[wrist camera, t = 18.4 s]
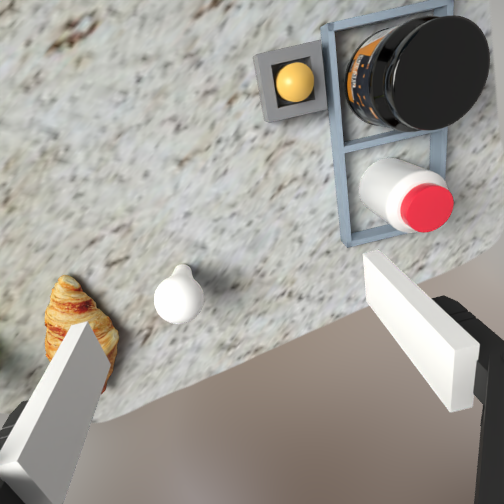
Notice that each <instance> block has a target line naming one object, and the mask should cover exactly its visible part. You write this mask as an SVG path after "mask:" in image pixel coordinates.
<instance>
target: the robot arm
mask: <svg viewBox="0 0 504 504" xmlns="http://www.w3.org/2000/svg"><path fill="white" fill-rule="evenodd" d="M363 262H364V276H365V290H366V301H367V303H368V304H369V305H370V307H371V308H372V309H373V311H374V312H375V313H376V315H377V316H378V317H379V319H380V320H381V321H382V323H383V324H384V325H385V326H386V328H387V329H388V331H389V332H390V333H391V335H392V336H393V337H394V338H395V340H396V341H397V343H398V344H399V345H400V346H401V348H402V349H403V350H404V352H405V353H406V354H407V356H408V357H409V358H410V360H411V361H412V362H413V364H414V365H415V366H416V368H417V369H418V370H419V372H420V373H421V374H422V376H423V377H424V378H425V380H426V381H427V382H428V384H429V385H430V386H431V388H432V389H433V390H434V392H435V393H436V394H437V396H438V397H439V398H440V400H441V401H442V402H443V404H444V405H445V406H446V408H447V409H448V410H449V412H455V411H459V410H463V409H467V408H471V407H473V400H474V395H475V396H476V397H477V398H478V399H479V400H480V402H481V403H482V404H483V410H482V417H481V425H480V426H481V432H480V443H479V454H478V455H479V456H478V466H477V477H476V488H475V499H474V504H504V340H502V339H501V338H500V337H499V336H498V335H496V334H495V333H494V332H493V331H492V330H491V329H489V328H488V327H487V326H486V325H484V324H483V323H482V322H481V321H480V320H479V319H476V317H475V316H474V315H473V314H472V313H471V312H468V310H467V309H466V308H465V307H463V306H462V305H461V304H460V303H459V302H458V301H455V300H453V299H451V298H448V297H446V296H440V297H436V298H432V299H431V298H430V297H429V296H428V295H427V294H426V293H425V292H424V291H422V289H420V288H419V287H418V286H417V285H416V284H415V283H414V282H413V281H412V280H411V279H410V278H409V277H408V276H407V275H405V274H404V273H403V272H402V271H401V270H400V269H399V268H398V267H397V266H396V265H395V264H394V263H393V262H392V261H390V260H389V259H388V258H387V257H386V256H385V255H384V254H383V253H382V252H381V251H380V250H379V249H378V250H374V251H370V252H366V253H363ZM110 366H111V364H110V362H109V360H108V358H107V356H106V355H105V353H104V351H103V349H102V347H101V345H100V343H99V341H98V340H97V338H96V336H95V334H94V332H93V330H92V328H91V326H90V325H89V323H88V321H87V322H83V323H79V324H75V325H71V327H70V329H69V330H68V332H67V334H66V336H65V338H64V339H63V341H62V343H61V345H60V346H59V348H58V350H57V352H56V353H55V355H54V357H53V359H52V360H51V362H50V364H49V366H48V368H47V369H46V371H45V373H44V375H43V376H42V378H41V380H40V382H39V383H38V385H37V387H36V389H35V390H34V392H33V394H32V396H31V397H30V399H29V400H27V401H23V402H21V404H20V405H19V406H18V407H17V408H16V409H15V410H14V411H13V412H12V413H11V414H10V415H9V417H8V419H7V421H6V422H5V424H4V425H3V427H2V428H3V429H2V430H1V431H0V504H63V503H64V500H65V497H66V494H67V491H68V488H69V486H70V483H71V479H72V477H73V473H74V471H75V468H76V465H77V462H78V459H79V456H80V453H81V450H82V448H83V445H84V442H85V439H86V436H87V433H88V430H89V427H90V424H91V421H92V419H93V416H94V413H95V410H96V407H97V404H98V401H99V398H100V395H101V392H102V389H103V386H104V384H105V381H106V378H107V375H108V372H109V369H110Z"/></svg>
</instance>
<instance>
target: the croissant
mask: <svg viewBox="0 0 504 504" xmlns="http://www.w3.org/2000/svg"><path fill="white" fill-rule="evenodd" d="M50 298H51V300H50V304H49V305H48V306H47V309H46V311H45V323H46V324H45V326H46V327H47V330H46V331H47V332H46V338H45V350H46V352H47V353H46V357H47V358H48V359H49V361H50V362H51V360H52V359H53V357H54V355H55V353H56V352H57V350H58V348H59V346H60V345H61V343H62V341H63V339H64V338H65V336H66V334H67V332H68V330H69V329H70V327H71V325H75V324H79V323H83V322H87V321H88V323H89V325H90V326H91V328H92V330H93V332H94V334H95V336H96V338H97V340H98V341H99V343H100V345H101V347H102V349H103V351H104V353H105V355H106V356H107V358H108V360H109V362H110V364H111V366H110V369H109V372H108V375H107V378H106V381H105V384H104V386H103V389H102V392H101V394H102V393H103V392H104V391H105V390H106V386H107V380H108V378H109V377H110V376H111V374H112V372H113V366H114V362H115V357H116V355H117V343H118V341H119V335H118V331H117V330H116V329H115V328H114V326H113V325H112V321H111V320H110V318H109V317H108V316H106V315H105V314H104V313H103V312H102V311H101V310H100V309H97V307H96V303H95V302H94V300H93V299H92V298H90V297H89V296H87V295H86V293H84V292H83V291H82V288H81V285H80V284H79V283H78V282H77V281H76V280H75V279H74V278H73V277H70V276H68V275H63V276H61V277H60V278H59V279H58V282H57V283H55V287H54V288H52V294H51V296H50Z"/></svg>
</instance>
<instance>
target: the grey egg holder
mask: <svg viewBox="0 0 504 504" xmlns="http://www.w3.org/2000/svg"><path fill="white" fill-rule="evenodd" d="M253 60H254V66H255V71H256V77H257V83H258V88H259V94H260V100H261V105H262V111H263V117H264V120H265V121H266V122H268V123H270V122H274V121H278V120H283V119H287V118H291V117H296V116H300V115H304V114H309V113H313V112H317V111H321V110H326V109H327V99H326V88H325V78H324V68H323V58H322V47H321V40H317V41H313V42H308V43H304V44H300V45H295V46H291V47H286V48H282V49H278V50H273V51H269V52H265V53H260V54H257V55H255V56H254V57H253ZM296 62H299V63H303V64H305V65H307V66H308V67H309V68H310V69H311V71H312V73H313V76H314V87H313V90H312V92H311V93H310V95H309V96H308V97H307V98H306V99H304V100H302V101H299V102H292V101H286V100H283V99H281V98H280V97H279V96H278V95H277V94H276V92H275V87H274V78H275V75H276V73H277V72H278V70H279V69H280V68H282V67H283V66H285V65H288V64H292V63H296Z"/></svg>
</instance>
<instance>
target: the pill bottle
mask: <svg viewBox="0 0 504 504" xmlns="http://www.w3.org/2000/svg"><path fill="white" fill-rule="evenodd" d="M358 190H359V197H360V200H361V202H362V203H363V204H364V205H365V207H367V208H368V209H369V210H371V211H372V212H373V213H375V214H376V215H377V216H379V217H380V218H382V219H383V220H384V221H386V222H387V223H388V224H390V225H391V226H392V227H394V228H395V229H397V230H399V231H401V232H406V233H415V232H430V231H433V230H436V229H437V228H439V227H441V226H442V225H443V224H444V223H445V222H446V221H447V220H448V218H449V217H450V215H451V213H452V210H453V204H454V201H453V197H452V194H451V193H450V192H449V190H448V187H447V184H446V182H445V180H444V179H443V178H442V177H441V176H440V175H439V174H437V173H435V172H433V171H430V170H428V169H425V168H422V167H419V166H417V165H414V164H411V163H408V162H406V161H403V160H400V159H397V158H392V157H391V158H383V159H380V160H378V161H376V162H374V163H373V164H371V165H370V166H369V167H368V168H367V169H366V171H365V172H364V173H363V175H362V177H361V179H360V183H359V189H358Z"/></svg>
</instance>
